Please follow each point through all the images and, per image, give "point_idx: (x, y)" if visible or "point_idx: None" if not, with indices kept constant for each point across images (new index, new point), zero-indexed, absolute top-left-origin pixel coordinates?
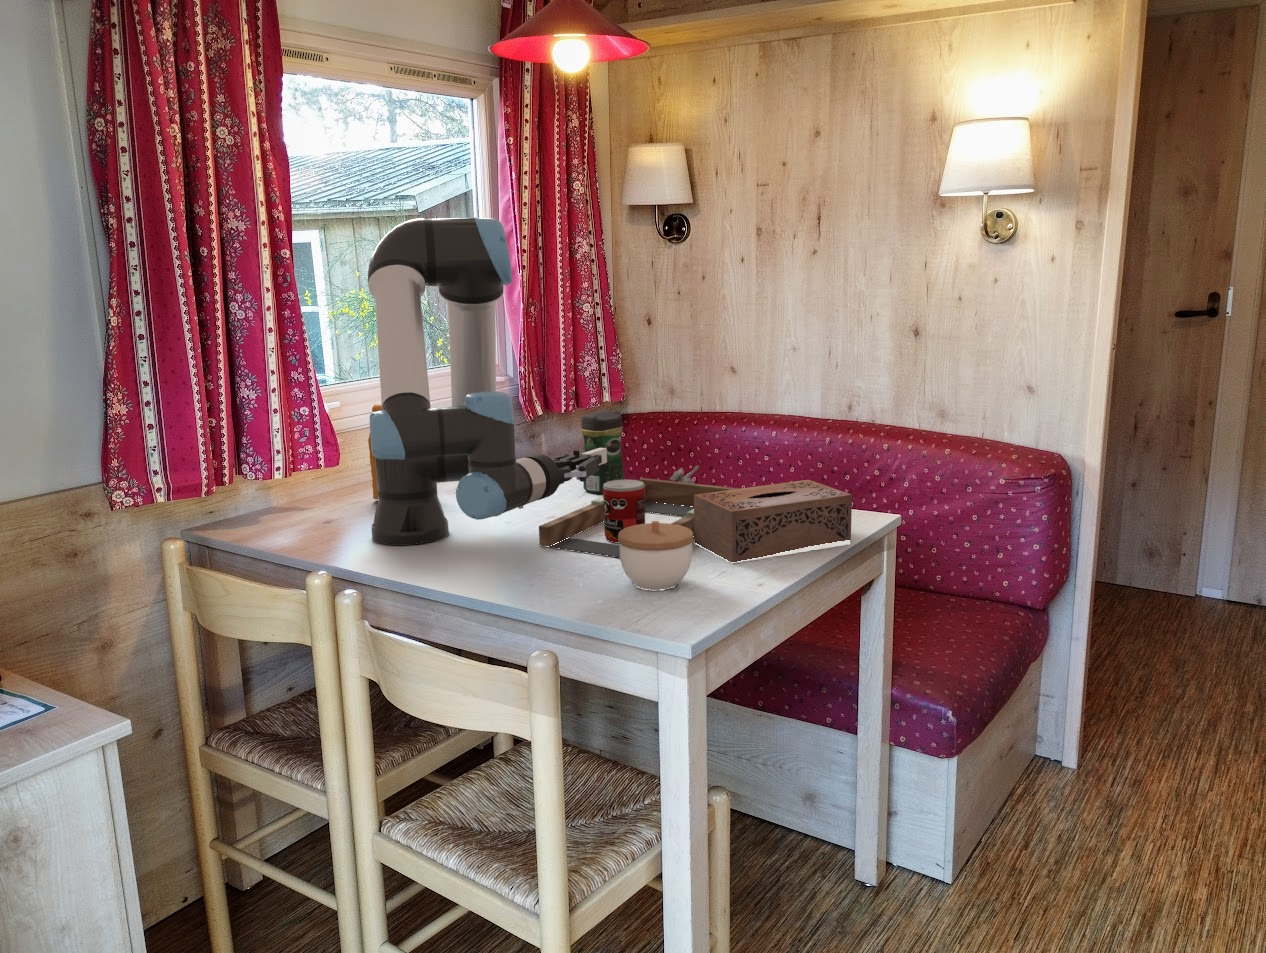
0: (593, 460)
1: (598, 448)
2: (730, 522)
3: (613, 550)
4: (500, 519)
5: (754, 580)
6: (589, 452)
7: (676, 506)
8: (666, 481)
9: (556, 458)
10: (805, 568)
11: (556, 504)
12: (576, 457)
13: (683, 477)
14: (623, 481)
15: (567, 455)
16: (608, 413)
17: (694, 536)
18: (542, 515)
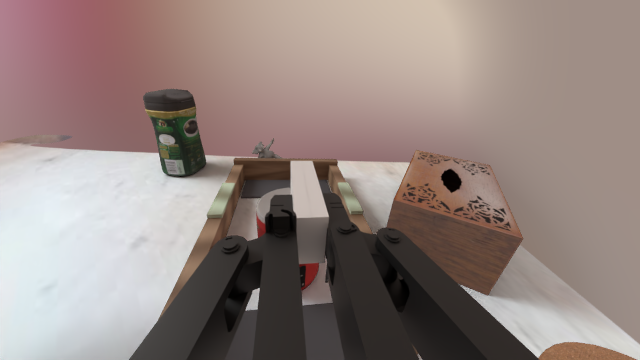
0: (460, 289)
1: (294, 165)
2: (510, 250)
3: (319, 337)
4: (28, 280)
5: (591, 343)
6: (309, 197)
7: (279, 182)
8: (263, 159)
9: (201, 335)
10: (541, 268)
11: (137, 206)
12: (296, 252)
13: (265, 150)
14: (278, 193)
15: (244, 253)
16: (177, 91)
17: None
18: (121, 240)
